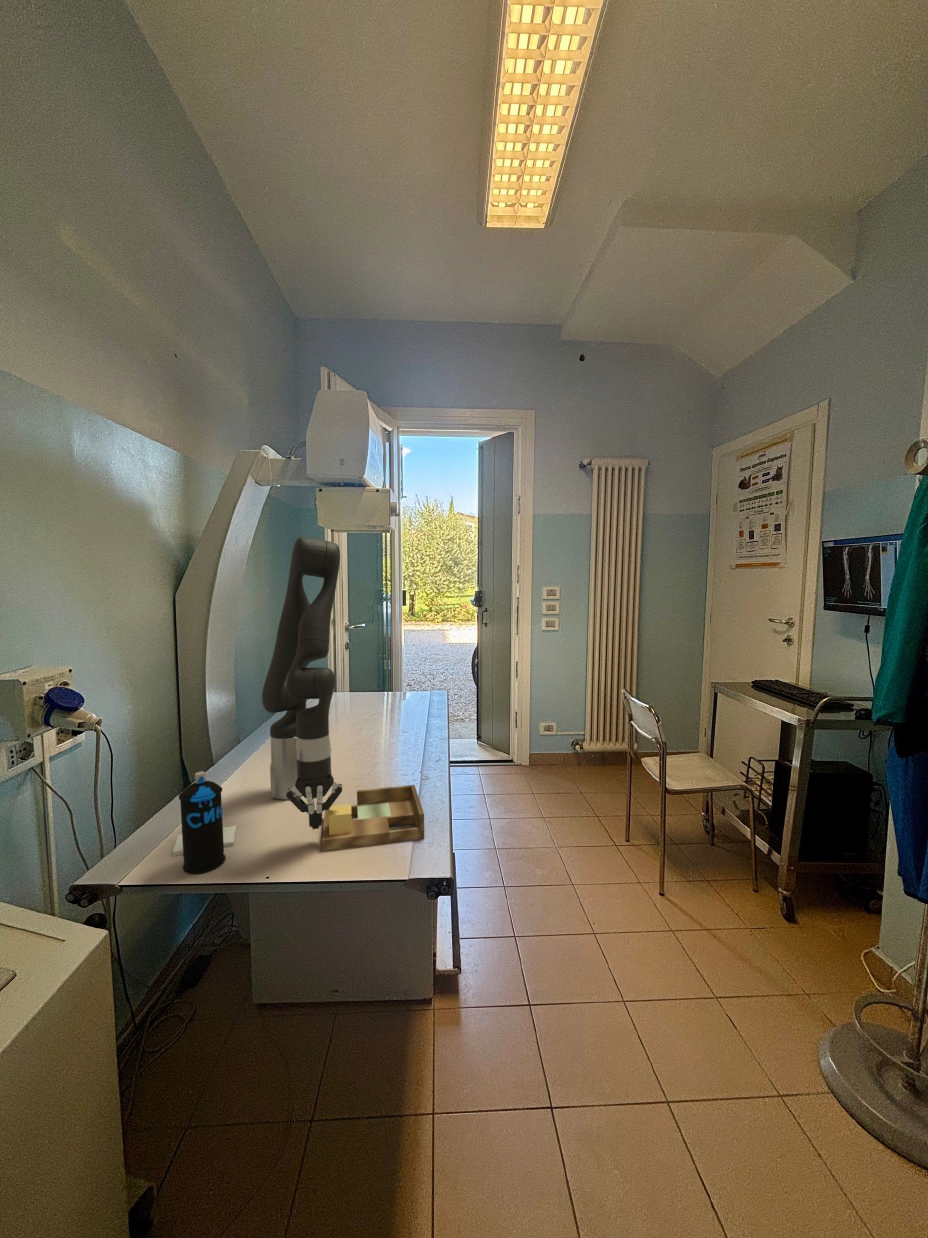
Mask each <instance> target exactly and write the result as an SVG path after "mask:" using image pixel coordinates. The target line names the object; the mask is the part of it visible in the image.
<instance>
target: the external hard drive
mask: <svg viewBox="0 0 928 1238" xmlns="http://www.w3.org/2000/svg"><path fill="white" fill-rule="evenodd" d="M236 835H237V825H233V826H227V827H223V843H224V848H229V847H233V846H235V842H236ZM171 852H172V853H171V855H172V856H171V857H177V856H182V855H183V840H182V833H181V834H178V835H177V838H176V840H175V842H174V845H173V849H172V851H171Z"/></svg>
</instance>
